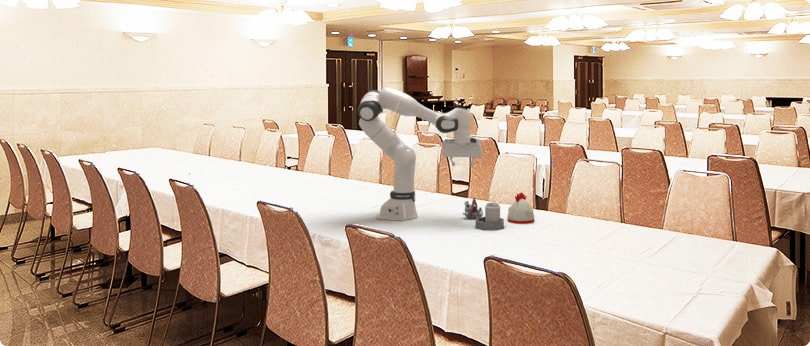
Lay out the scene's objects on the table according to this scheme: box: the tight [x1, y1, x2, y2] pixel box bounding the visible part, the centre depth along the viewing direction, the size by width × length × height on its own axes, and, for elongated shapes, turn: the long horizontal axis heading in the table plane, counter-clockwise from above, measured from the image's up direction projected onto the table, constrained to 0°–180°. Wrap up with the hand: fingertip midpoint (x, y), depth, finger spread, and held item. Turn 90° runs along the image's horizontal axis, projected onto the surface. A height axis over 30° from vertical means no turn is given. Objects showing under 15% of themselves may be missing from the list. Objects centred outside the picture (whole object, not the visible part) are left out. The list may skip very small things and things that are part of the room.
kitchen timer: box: [506, 192, 535, 225], centre depth 338 cm, size 14×14×15 cm
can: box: [484, 202, 501, 222], centre depth 327 cm, size 8×8×12 cm
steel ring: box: [474, 216, 505, 231], centre depth 328 cm, size 14×14×4 cm
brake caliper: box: [462, 197, 484, 220], centre depth 349 cm, size 11×11×12 cm
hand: (462, 165), depth 338 cm, fingers open, 8 cm apart
